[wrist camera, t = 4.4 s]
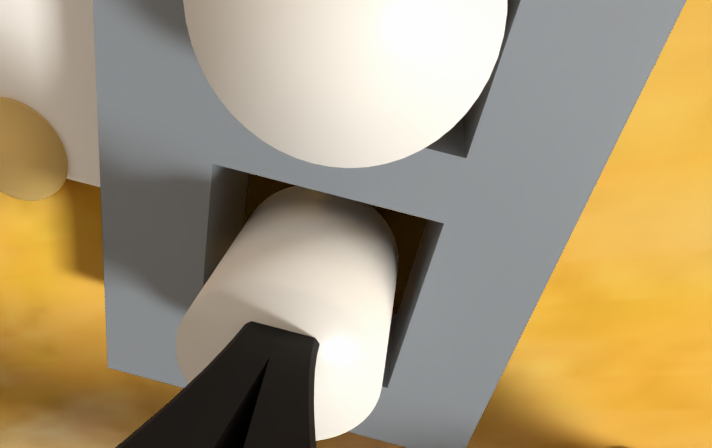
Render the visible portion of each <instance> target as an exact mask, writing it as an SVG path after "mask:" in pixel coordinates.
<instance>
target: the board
mask: <svg viewBox="0 0 712 448" xmlns="http://www.w3.org/2000/svg"><path fill="white" fill-rule="evenodd" d="M685 2H686V0H507V17H506V24H505V31H504V37H503V41H502V44H501V48H500V52H499V55H498V58H497V61H496V63H495V66H494V68H493V70H492V73H491V75H490V78H489V80H488V81H487V83H486V85H485V87H484V88H483V90H482V92H481V94H480V95H479V97H478V98H477V100H476V101H475V102H474V104H473V105H472V106H471V108H470V109H469V110H468V112H467V113H466V114H465V115H464V116H463V117H462V118H461V119H460V120H459V122H458V123H457V124H456V125H455V126H454V127H453V128H452V129H450V130H449V131H448V132H447V133H445V134H444V135H443V136H442V137H441V138H439V139H438V140H437V141H435V142H434V143H432V144H430V145H429V146H427V147H425V148H424V149H422V150H421V151H418V152H416V153H414V154H412V155H410V156H407V157H405V158H403V159H400V160H397V161H393V162H390V163H387V164H383V165H377V166H371V167H362V168H339V167H328V166H323V165H318V164H313V163H310V162H306V161H303V160H300V159H297V158H294V157H292V156H290V155H288V154H286V153H283V152H281V151H279V150H277V149H275V148H274V147H272V146H270V145H269V144H267V143H265V142H264V141H262V140H261V139H259V138H258V137H257V136H256V135H254V134H253V133H252V132H250V131H249V130H248V129H246V128H245V127H244V126H243V125H242V124H241V123H240V122H239V121H238V120H237V119H236V118H235V117H234V116H233V115H232V114H231V113H230V111H229V110H228V109H227V108H226V107H225V105H224V104H223V103H222V102H221V101H220V99H219V98H218V96H217V95H216V93H215V92H214V90H213V89H212V87H211V86H210V84H209V83H208V81H207V79H206V77H205V75H204V73H203V71H202V69H201V67H200V65H199V63H198V60H197V57H196V55H195V52H194V49H193V47H192V44H191V40H190V36H189V32H188V28H187V24H186V19H185V11H184V4H183V0H93V19H94V43H95V68H96V92H97V117H98V141H99V165H100V190H101V214H102V238H103V263H104V287H105V312H106V336H107V360H108V368H111V369H114V370H118V371H122V372H126V373H129V374H133V375H137V376H141V377H144V378H148V379H152V380H156V381H159V382H163V383H167V384H171V385H174V386H178V387H182V388H185V387H186V386H187V385H188V384H187V382H186V380H185V378H184V376H183V374H182V372H181V370H180V367H179V364H178V360H177V355H176V336H177V331H178V328H179V325H180V323H181V321H182V319H183V317H184V315H185V314H186V312H187V311H188V309H189V308H190V306H191V305H192V303H193V302H194V300H195V299H196V297H197V296H198V294H199V293H200V291H201V290H202V288H203V287H204V285H205V284H206V282H207V281H208V279H209V278H210V276H211V275H212V273H213V272H214V270H215V269H216V267H217V266H218V264H219V263H220V261H221V260H222V258H223V257H224V255H225V254H226V252H227V251H228V249H229V248H230V246H231V245H232V243H233V242H234V240H235V239H236V237H237V236H238V234H239V233H240V231H241V230H242V228H243V225H244V216H245V208H246V200H247V191H248V183H249V174H254V175H258V176H262V177H266V178H270V179H273V180H277V181H281V182H285V183H289V184H293V185H297V186H301V187H304V188H308V189H312V190H316V191H320V192H324V193H328V194H332V195H336V196H339V197H343V198H347V199H351V200H355V201H359V202H363V203H367V204H370V205H374V206H378V207H382V208H386V209H390V210H394V211H398V212H402V213H405V214H409V215H413V216H417V217H421V218H425V219H427V222H426V225H425V228H424V231H423V234H422V238H421V241H420V244H419V247H418V250H417V253H416V256H415V259H414V262H413V265H412V268H411V272H410V275H409V278H408V281H407V284H406V287H405V290H404V293H403V296H402V299H401V302H400V306H399V309H398V312H397V314H395V313H392V317H391V324H390V332H389V339H388V346H387V353H386V361H385V368H384V375H383V382H382V389H381V393H380V397H379V399H378V401H377V404H376V406H375V407H374V409H373V410H372V412H371V413H370V415H369V416H368V417H367V418H366V419H365V420H364V421H363V422H361V423H360V424H359V425H357V426H356V427H355V428H353V429H351V430H349V431H348V432H350V433H354V434H358V435H361V436H365V437H369V438H373V439H376V440H380V441H384V442H387V443H391V444H395V445H399V446H402V447H406V448H466V447H467V445H468V443H469V441H470V439H471V437H472V435H473V432H474V430H475V428H476V426H477V424H478V422H479V420H480V418H481V416H482V414H483V412H484V410H485V408H486V406H487V404H488V402H489V400H490V398H491V396H492V394H493V392H494V390H495V388H496V386H497V384H498V382H499V380H500V378H501V376H502V374H503V372H504V370H505V368H506V366H507V363H508V361H509V359H510V357H511V355H512V353H513V351H514V349H515V347H516V345H517V343H518V341H519V339H520V337H521V335H522V333H523V331H524V329H525V327H526V325H527V323H528V321H529V319H530V317H531V315H532V313H533V311H534V309H535V307H536V305H537V303H538V301H539V299H540V297H541V294H542V292H543V290H544V288H545V286H546V284H547V282H548V280H549V278H550V276H551V274H552V272H553V270H554V268H555V266H556V264H557V262H558V260H559V258H560V256H561V254H562V252H563V250H564V248H565V246H566V244H567V242H568V240H569V238H570V236H571V234H572V232H573V230H574V228H575V225H576V223H577V221H578V219H579V217H580V215H581V213H582V211H583V209H584V207H585V205H586V203H587V201H588V199H589V197H590V195H591V193H592V191H593V189H594V187H595V185H596V183H597V181H598V179H599V177H600V175H601V173H602V171H603V169H604V167H605V165H606V163H607V161H608V159H609V156H610V154H611V152H612V150H613V148H614V146H615V144H616V142H617V140H618V138H619V136H620V134H621V132H622V130H623V128H624V126H625V124H626V122H627V120H628V118H629V116H630V114H631V112H632V110H633V108H634V106H635V104H636V102H637V100H638V98H639V96H640V94H641V92H642V90H643V88H644V85H645V83H646V81H647V79H648V77H649V75H650V73H651V71H652V69H653V67H654V65H655V63H656V61H657V59H658V57H659V55H660V53H661V51H662V49H663V47H664V45H665V43H666V41H667V39H668V37H669V35H670V33H671V31H672V29H673V27H674V25H675V23H676V21H677V19H678V16H679V14H680V12H681V10H682V8H683V6H684V4H685Z"/></svg>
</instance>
